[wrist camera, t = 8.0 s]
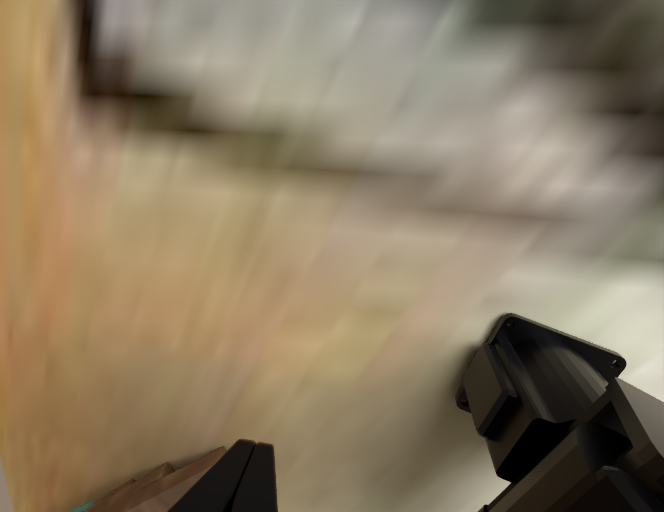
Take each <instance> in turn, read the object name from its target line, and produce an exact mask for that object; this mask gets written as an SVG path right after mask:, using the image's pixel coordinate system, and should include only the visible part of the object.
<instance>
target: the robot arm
mask: <svg viewBox="0 0 664 512" xmlns="http://www.w3.org/2000/svg"><path fill="white" fill-rule="evenodd" d="M510 321H515V324H514V325H512V326H508V325H507V324H508V323H509V322H510ZM614 360H616V362H615V363H614V364H610V362H612V361H614ZM625 367H626V361H625V359H624V358H623V357H622V356H621V355H620V354H618V353H617V352H614V351H611V350H609V349H606V348H603V347H601V346H598V345H596V344H593V343H590V342H588V341H585V340H582V339H580V338H577V337H575V336H572V335H569V334H567V333H564V332H561V331H559V330H556V329H553V328H551V327H548V326H546V325H543V324H540V323H538V322H535V321H532V320H530V319H527V318H525V317H522V316H519V315H517V314H513V313H508V314H505V315H504V316H503V317H502V318H501V319H500V321H499V323H498V324H497V326H496V328H495V329H494V331H493V333H492V335H491V336H490V338H489V340H488V341H487V343H484V344H482V345H481V346H480V348H479V350H478V351H477V353H476V355H475V357H474V358H473V360H472V362H471V363H470V365H469V367H468V369H467V370H466V372H465V374H464V376H463V377H462V380H463V384H462V386H461V387H460V389H459V391H458V392H457V394H456V397H455V399H456V404H457V406H458V407H459V408H460V409H462V410H465V411H467V412H470V413H472V416H473V420H474V423H475V427H476V430H477V432H478V434H479V436H481V437H483V438H485V439H486V442H487V445H488V448H489V452H490V455H491V458H492V462H493V465H494V468H495V472H496V474H497V476H498V477H500V478H502V479H504V480H507V481H509V482H511V484H510V485H509V486H508V487H507V488H506V489H505V490H504V491H503V492H501V493H500V494H499V495H498V496H497V497H496V498H495V499H494V500H493V501H492V502H491V503H490V504H489V505H484V506H483V507H482V508H481V509H480V510H479V511H478V512H664V402H662V401H660V400H658V399H657V398H655V397H653V396H651V395H649V394H647V393H645V392H643V391H642V390H640V389H638V388H636V387H634V386H632V385H630V384H629V383H627V382H625V381H623V380H621V379H619V378H617V377H618V376H619V375H620V374H621V372H622V371H623V370H624V369H625ZM464 399H467V400H468V401H466V402H462V400H464ZM167 512H278V505H277V489H276V472H275V456H274V446H273V445H272V444H269V443H263V442H258V443H257V444H256V442H255V441H252V440H247V439H239V440H238V441H236V442H235V443H234V444H233V445H232V446H231V447H230V449H229V450H228V451H227V452H226V453H225V454H224V455H223V456H222V457H221V458H220V459H219V460H218V461H217V462H216V463H215V464H214V465H213V466H212V467H211V468H210V469H209V470H208V471H207V472H206V473H205V474H204V475H203V476H202V477H201V478H200V479H199V480H198V481H197V482H196V483H195V484H194V485H193V486H192V487H191V488H190V489H189V490H188V491H187V492H186V493H185V494H184V495H183V496H182V497H181V498H180V499H179V500H178V501H177V502H176V503H175V504H174V505H173V506H172V507H171V508H170V509H169V510H168V511H167Z"/></svg>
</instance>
